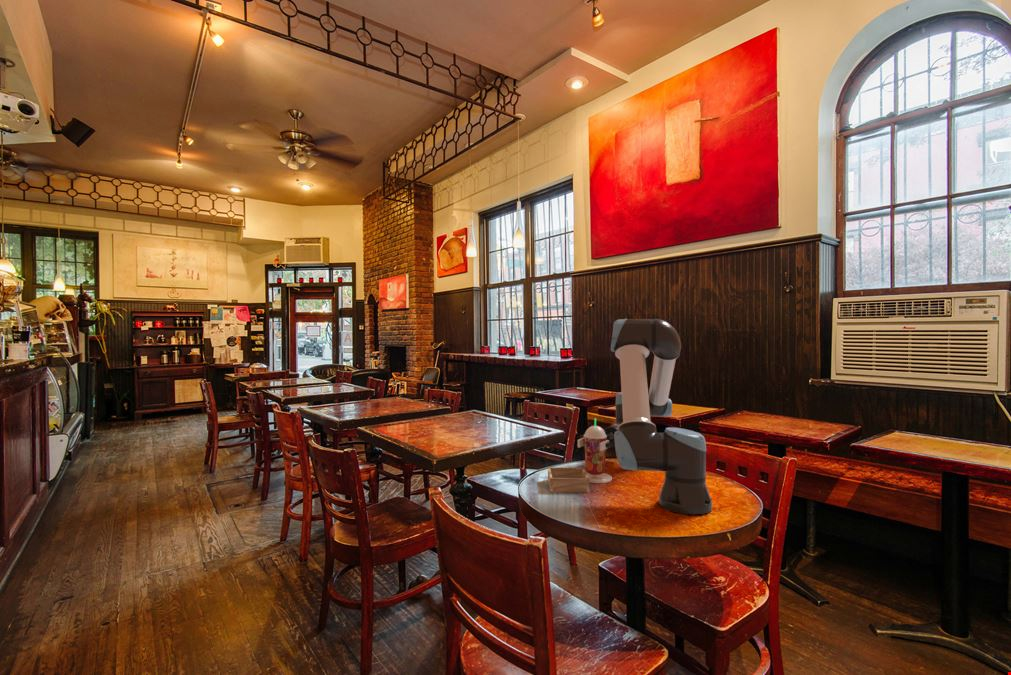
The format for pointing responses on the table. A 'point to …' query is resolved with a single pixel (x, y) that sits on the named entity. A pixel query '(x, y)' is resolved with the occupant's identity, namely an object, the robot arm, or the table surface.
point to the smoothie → (594, 449)
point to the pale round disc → (599, 478)
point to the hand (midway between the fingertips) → (589, 445)
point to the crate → (568, 480)
